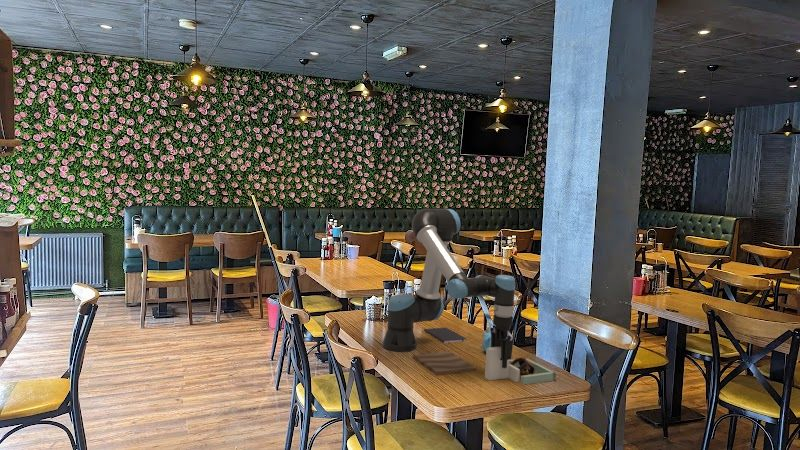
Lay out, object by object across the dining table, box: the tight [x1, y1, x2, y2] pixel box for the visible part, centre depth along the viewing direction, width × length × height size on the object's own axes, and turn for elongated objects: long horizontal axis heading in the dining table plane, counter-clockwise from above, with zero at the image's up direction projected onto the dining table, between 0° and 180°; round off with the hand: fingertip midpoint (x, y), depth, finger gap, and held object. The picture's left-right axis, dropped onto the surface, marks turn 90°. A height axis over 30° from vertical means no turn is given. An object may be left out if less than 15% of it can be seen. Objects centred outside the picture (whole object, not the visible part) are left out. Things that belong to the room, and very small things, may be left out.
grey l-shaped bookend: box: [484, 347, 521, 383], centre depth 221 cm, size 13×10×12 cm
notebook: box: [423, 327, 467, 344], centre depth 277 cm, size 13×2×21 cm
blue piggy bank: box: [481, 332, 506, 352], centre depth 251 cm, size 18×14×10 cm
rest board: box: [412, 351, 477, 376], centre depth 235 cm, size 22×18×1 cm
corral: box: [509, 357, 557, 386], centre depth 226 cm, size 19×16×3 cm
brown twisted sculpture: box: [511, 356, 536, 375], centre depth 225 cm, size 12×10×8 cm
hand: (499, 373), depth 221 cm, fingers closed on grey l-shaped bookend, 3 cm apart
